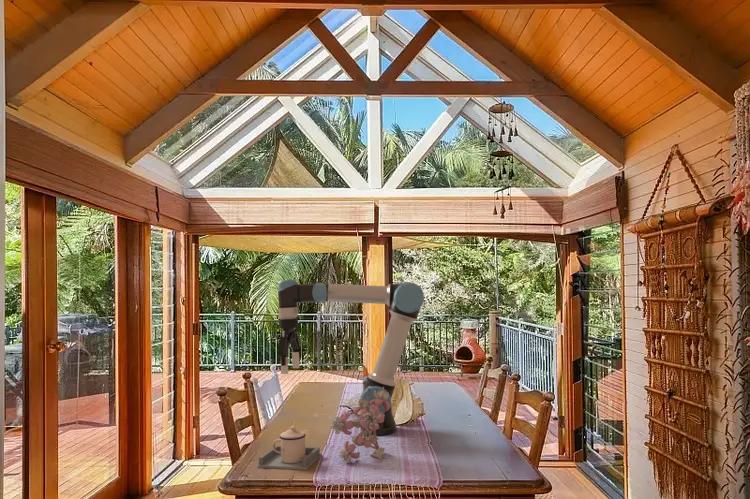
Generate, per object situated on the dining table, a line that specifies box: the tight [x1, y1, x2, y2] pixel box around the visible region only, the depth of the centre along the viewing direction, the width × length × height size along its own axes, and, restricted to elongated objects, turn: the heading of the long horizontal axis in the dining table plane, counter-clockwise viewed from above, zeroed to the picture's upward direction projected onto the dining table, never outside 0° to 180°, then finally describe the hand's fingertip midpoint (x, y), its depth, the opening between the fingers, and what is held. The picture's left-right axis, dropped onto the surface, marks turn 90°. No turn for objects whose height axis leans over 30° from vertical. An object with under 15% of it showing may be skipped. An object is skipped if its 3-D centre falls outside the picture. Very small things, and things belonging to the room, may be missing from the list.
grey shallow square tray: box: [257, 445, 323, 471], centre depth 202 cm, size 18×16×3 cm
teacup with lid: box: [271, 425, 306, 463], centre depth 201 cm, size 12×9×12 cm
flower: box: [329, 387, 392, 464], centre depth 203 cm, size 20×22×25 cm
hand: (290, 370), depth 228 cm, fingers open, 13 cm apart
